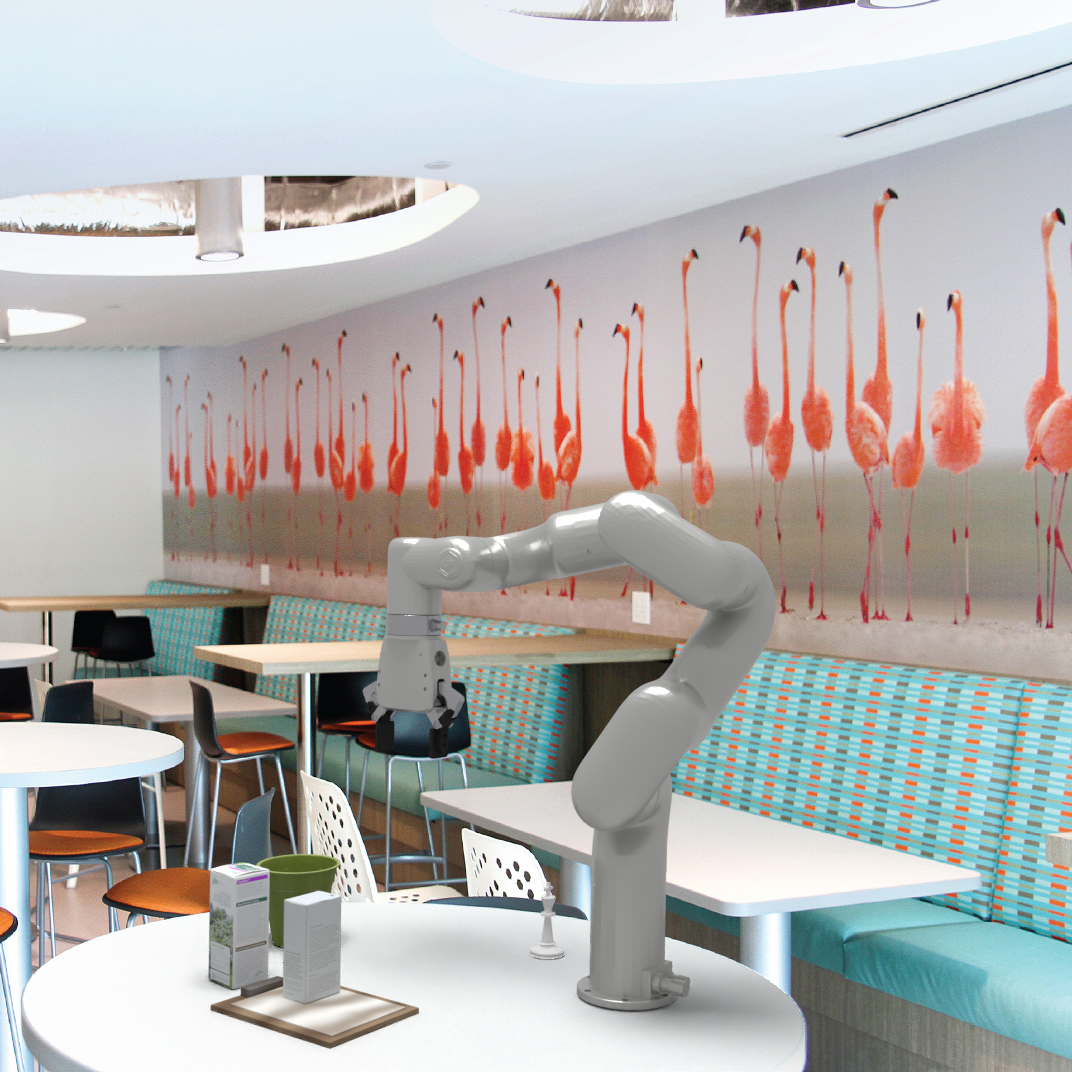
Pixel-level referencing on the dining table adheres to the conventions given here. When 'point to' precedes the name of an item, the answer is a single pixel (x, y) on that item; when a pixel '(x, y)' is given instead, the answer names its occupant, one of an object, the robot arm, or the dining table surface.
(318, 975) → the skincare box
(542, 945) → the chess piece
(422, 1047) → the dining table surface
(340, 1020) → the clipboard
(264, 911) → the syrup box
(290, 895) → the plant pot
